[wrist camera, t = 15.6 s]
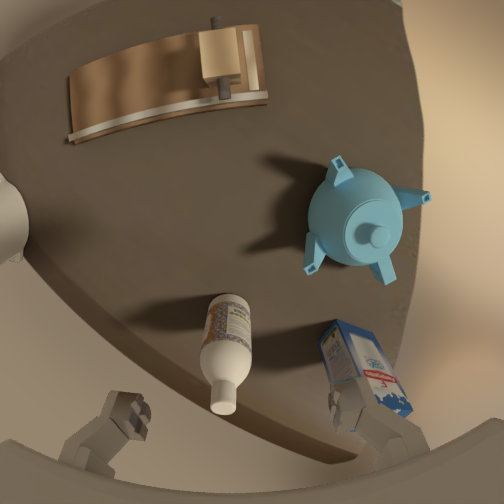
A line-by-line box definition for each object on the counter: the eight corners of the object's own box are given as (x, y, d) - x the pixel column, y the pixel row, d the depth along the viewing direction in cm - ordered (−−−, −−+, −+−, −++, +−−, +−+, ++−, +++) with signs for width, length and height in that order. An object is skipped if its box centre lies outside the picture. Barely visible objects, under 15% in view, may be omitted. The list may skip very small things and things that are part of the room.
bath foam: (213, 287, 44) (197, 386, 26) (255, 298, 45) (261, 397, 26) (204, 320, 46) (188, 417, 28) (243, 329, 47) (244, 426, 29)
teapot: (286, 246, 41) (299, 283, 32) (315, 149, 36) (340, 154, 26) (371, 266, 43) (400, 301, 33) (402, 181, 37) (443, 198, 28)
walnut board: (81, 143, 34) (69, 144, 30) (76, 73, 29) (64, 70, 26) (266, 105, 33) (268, 102, 30) (257, 29, 28) (258, 19, 25)
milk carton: (373, 333, 49) (413, 410, 31) (354, 354, 51) (386, 432, 33) (335, 318, 47) (372, 406, 29) (316, 342, 49) (343, 430, 31)
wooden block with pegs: (211, 105, 31) (205, 99, 26) (204, 32, 27) (197, 15, 21) (243, 101, 31) (243, 94, 26) (234, 28, 27) (233, 10, 21)
